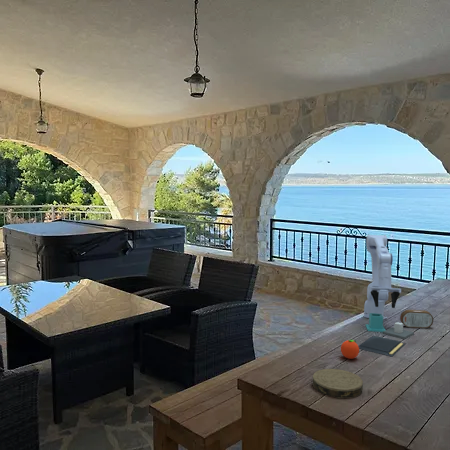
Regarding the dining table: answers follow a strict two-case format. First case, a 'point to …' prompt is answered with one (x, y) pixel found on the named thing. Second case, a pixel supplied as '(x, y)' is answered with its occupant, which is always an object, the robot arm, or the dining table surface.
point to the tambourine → (337, 383)
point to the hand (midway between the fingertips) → (385, 307)
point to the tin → (416, 318)
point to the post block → (398, 331)
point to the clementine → (350, 349)
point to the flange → (375, 323)
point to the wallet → (381, 346)
